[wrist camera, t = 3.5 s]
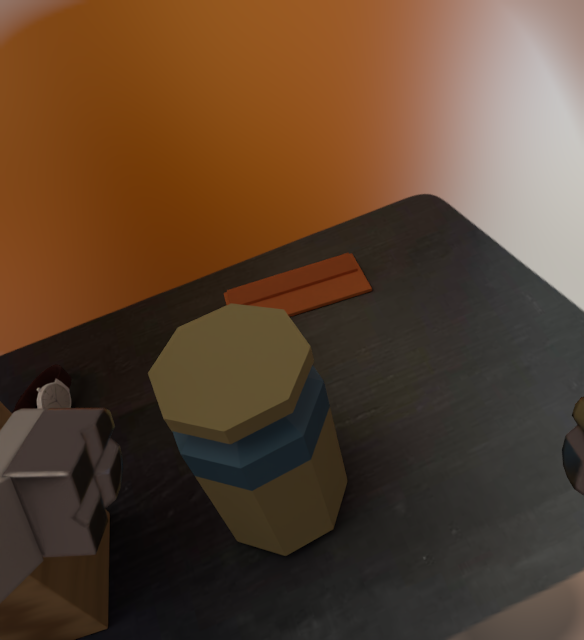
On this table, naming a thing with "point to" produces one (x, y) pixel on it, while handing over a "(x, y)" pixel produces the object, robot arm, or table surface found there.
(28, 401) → the watch
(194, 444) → the jar
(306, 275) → the cloth
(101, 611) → the tall box
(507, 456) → the table surface
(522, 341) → the table surface
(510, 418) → the table surface
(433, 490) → the table surface
